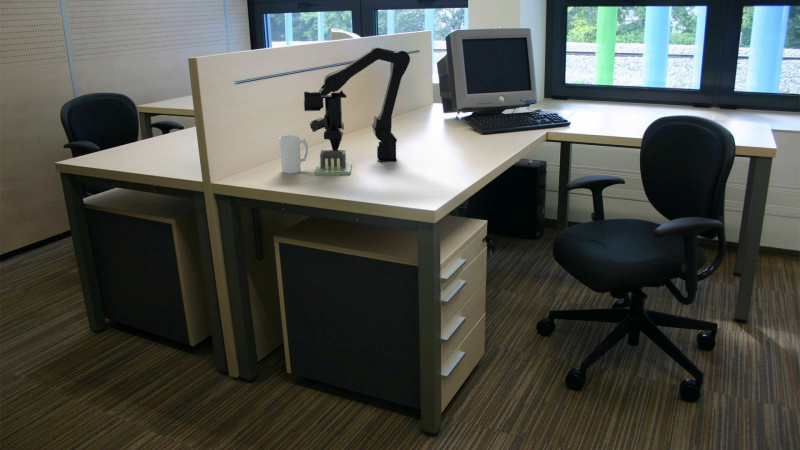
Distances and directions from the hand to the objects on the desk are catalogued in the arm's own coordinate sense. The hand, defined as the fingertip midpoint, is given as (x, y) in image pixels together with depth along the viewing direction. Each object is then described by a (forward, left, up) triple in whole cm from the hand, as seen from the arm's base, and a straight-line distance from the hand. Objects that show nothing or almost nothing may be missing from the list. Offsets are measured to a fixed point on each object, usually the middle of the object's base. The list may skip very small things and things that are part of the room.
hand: (335, 153), depth 239 cm
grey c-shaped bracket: (0, +10, -2) cm, 10 cm away
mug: (+13, +12, -3) cm, 18 cm away
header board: (0, +12, -3) cm, 12 cm away
